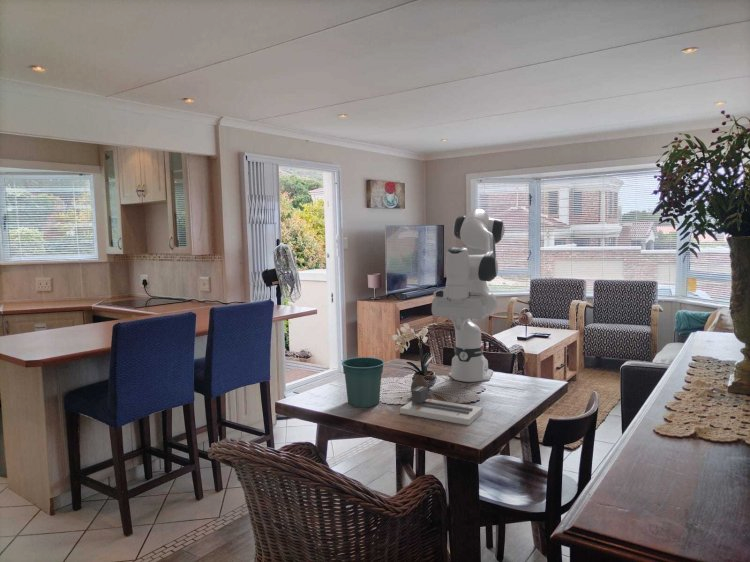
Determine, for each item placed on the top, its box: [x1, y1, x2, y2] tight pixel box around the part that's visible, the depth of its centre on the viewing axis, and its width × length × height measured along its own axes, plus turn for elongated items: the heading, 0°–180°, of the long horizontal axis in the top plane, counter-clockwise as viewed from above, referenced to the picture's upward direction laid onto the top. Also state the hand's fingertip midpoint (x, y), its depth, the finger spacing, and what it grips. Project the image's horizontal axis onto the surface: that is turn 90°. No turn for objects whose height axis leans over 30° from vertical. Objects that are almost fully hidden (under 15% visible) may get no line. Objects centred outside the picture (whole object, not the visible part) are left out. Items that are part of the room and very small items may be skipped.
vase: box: [410, 374, 429, 394], centre depth 212 cm, size 7×7×9 cm
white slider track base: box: [399, 398, 484, 426], centre depth 193 cm, size 14×26×3 cm, turn 59°
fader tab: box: [411, 386, 429, 403], centre depth 197 cm, size 6×4×6 cm, turn 149°
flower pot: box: [341, 356, 385, 409], centre depth 206 cm, size 16×16×16 cm
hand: (458, 329), depth 197 cm, fingers closed
